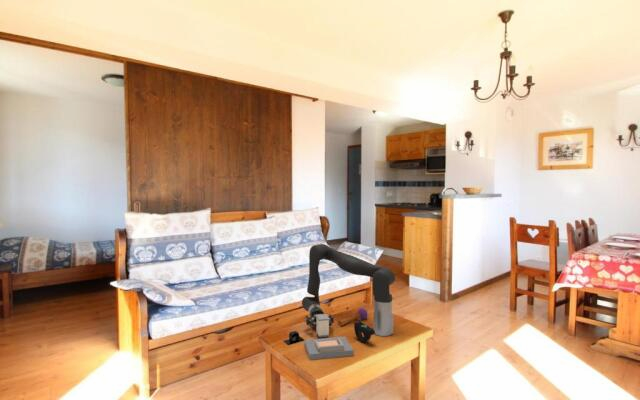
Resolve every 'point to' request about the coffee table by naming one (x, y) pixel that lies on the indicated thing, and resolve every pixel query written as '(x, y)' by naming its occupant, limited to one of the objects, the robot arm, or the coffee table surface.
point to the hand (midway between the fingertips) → (322, 325)
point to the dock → (328, 348)
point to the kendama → (354, 317)
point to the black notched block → (292, 339)
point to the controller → (363, 331)
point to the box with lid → (322, 325)
